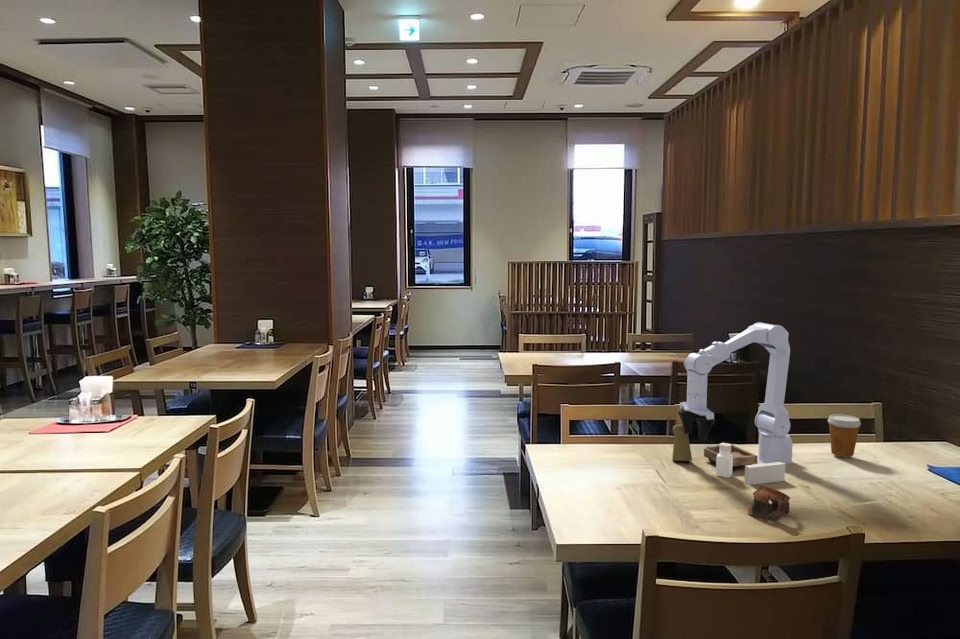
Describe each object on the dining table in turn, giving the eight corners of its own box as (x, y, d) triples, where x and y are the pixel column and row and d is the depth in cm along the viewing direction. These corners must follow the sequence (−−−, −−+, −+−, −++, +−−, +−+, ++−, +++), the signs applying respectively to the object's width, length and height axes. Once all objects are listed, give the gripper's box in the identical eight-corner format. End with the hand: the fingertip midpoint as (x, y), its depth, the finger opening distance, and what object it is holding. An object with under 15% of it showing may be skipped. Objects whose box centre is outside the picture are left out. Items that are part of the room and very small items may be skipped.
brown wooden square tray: (733, 457, 210) (734, 443, 210) (757, 468, 200) (757, 454, 199) (703, 460, 207) (704, 446, 207) (725, 471, 197) (726, 457, 196)
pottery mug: (738, 511, 168) (749, 481, 169) (770, 526, 169) (781, 496, 170) (764, 518, 156) (776, 486, 158) (798, 535, 157) (810, 503, 158)
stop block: (779, 478, 191) (780, 461, 191) (784, 480, 189) (785, 463, 189) (744, 482, 188) (745, 465, 187) (749, 484, 186) (749, 467, 185)
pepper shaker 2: (729, 479, 191) (730, 447, 190) (715, 476, 193) (716, 445, 192) (732, 475, 194) (733, 443, 193) (718, 472, 196) (719, 441, 195)
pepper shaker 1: (689, 459, 208) (688, 424, 210) (694, 460, 202) (693, 424, 204) (670, 459, 209) (669, 424, 210) (674, 460, 203) (673, 424, 204)
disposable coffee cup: (865, 458, 209) (867, 421, 208) (835, 458, 209) (837, 421, 208) (849, 449, 219) (851, 414, 217) (820, 449, 219) (822, 414, 218)
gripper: (671, 389, 205) (670, 431, 206) (699, 399, 191) (698, 444, 192) (691, 387, 207) (690, 429, 208) (720, 397, 193) (719, 442, 194)
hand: (695, 436), depth 200 cm, fingers open, 7 cm apart
